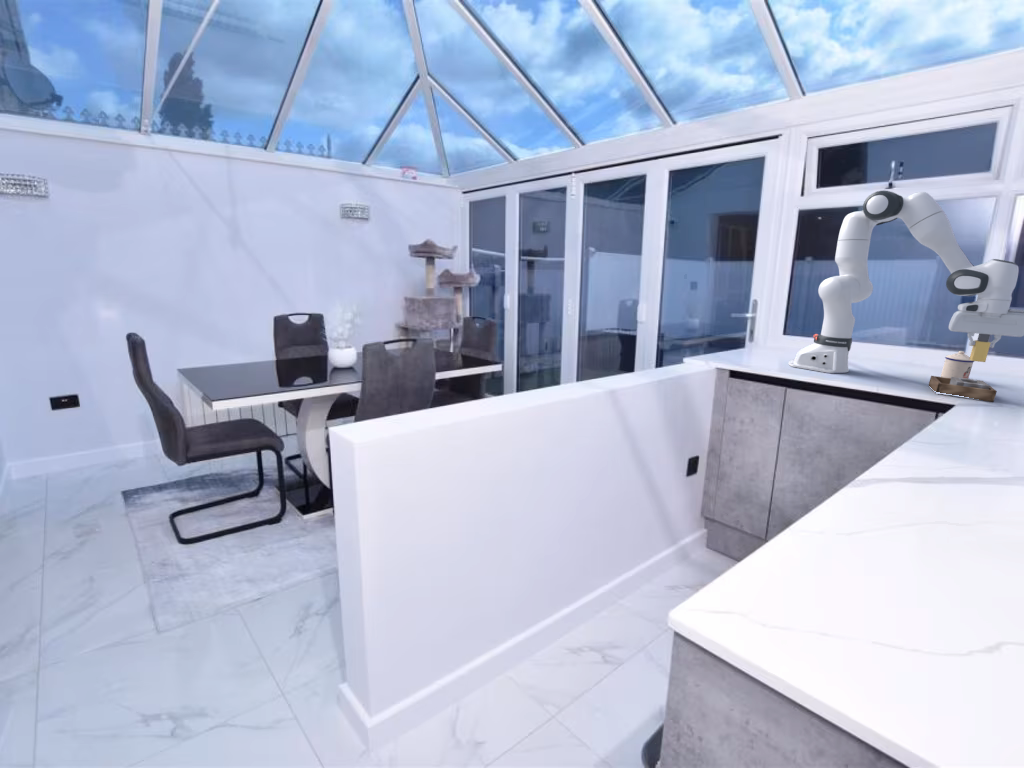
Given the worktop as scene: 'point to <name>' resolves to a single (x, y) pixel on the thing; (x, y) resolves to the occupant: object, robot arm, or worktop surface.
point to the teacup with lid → (957, 366)
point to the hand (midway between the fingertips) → (981, 346)
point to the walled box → (963, 387)
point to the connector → (980, 348)
